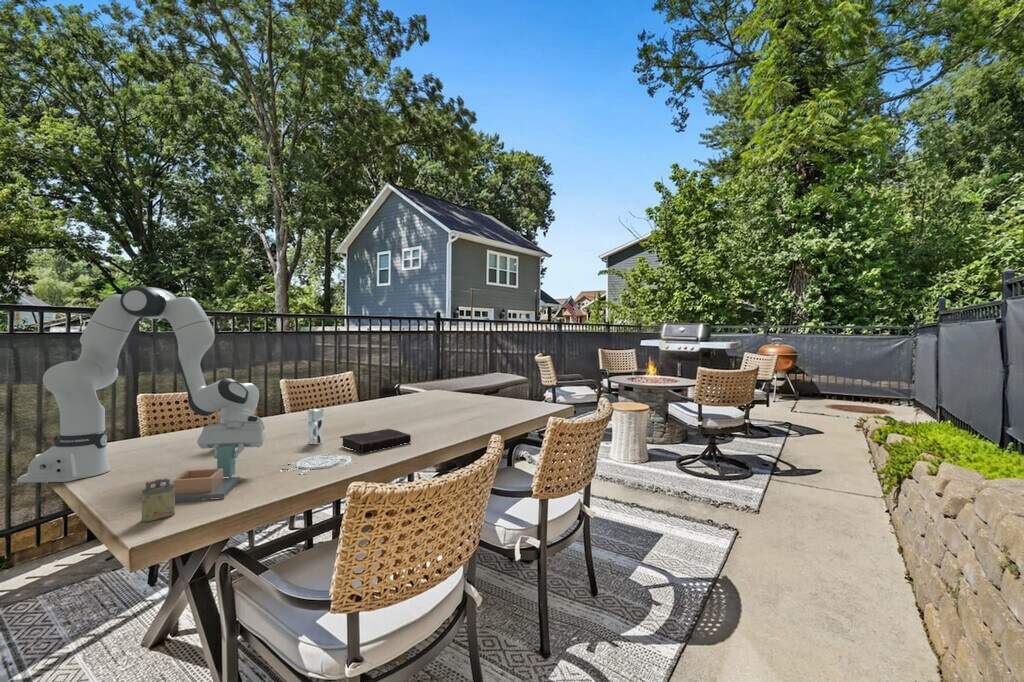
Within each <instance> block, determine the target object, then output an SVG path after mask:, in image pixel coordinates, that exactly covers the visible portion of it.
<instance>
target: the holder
mask: <svg viewBox="0 0 1024 682" xmlns="http://www.w3.org/2000/svg"><path fill="white" fill-rule="evenodd" d="M239 481H241V477H240V476H232V477H229V478H223V468H220V469H217V468H207V469H190V470H188V469H187V470H186V471H184V472H183V473H182V474H180V475H179V476H178V477H176V478H175V479H174V480H173V481H172V482H173V483H172V484H174V485H175V503H183V501H187V502H193V501H192V500H199V501H203V500H202V499H211V498H222V497H223V498H224V497H225V496H226V495H227V494H228V493H229V492H230V491H231V492H232V491H233V489H234V488H235V487H236V486H237V485H238V484H239V483H240V482H239ZM238 482H239V483H238ZM237 483H238V484H237ZM236 484H237V485H236ZM235 485H236V486H235ZM234 486H235V487H234ZM233 487H234V488H233ZM232 488H233V489H232ZM231 492H230V493H231ZM230 493H229V494H230ZM227 496H228V495H227ZM227 496H226V497H227ZM226 497H225V498H226ZM225 498H224V499H225Z"/></svg>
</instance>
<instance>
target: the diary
mask: <svg viewBox="0 0 1024 682" xmlns="http://www.w3.org/2000/svg"><path fill="white" fill-rule="evenodd" d="M339 438H341V439H342V446H344V447H347V448H350V449H353V450H352V451H354V450H356V451H355V452H357V451H359V452H358V453H361V452H362V453H364V454H367V453H366V452H369V453H371V452H370V451H373V452H375V451H374V450H377V451H380V450H379V449H382V450H384V449H383V448H387V449H389V448H388V447H391V448H393V447H392V446H395V447H397V446H396V445H400V444H404V443H409V442H410V443H411V440H412V439H411V438H412V437H411V434H409V433H405V432H403V431H400V430H396V429H392V428H386V429H385V428H384V429H380V430H374V431H369V432H363V433H362V432H361V433H353V434H345V435H342V436H341V435H340V436H339ZM410 443H409V444H410ZM400 446H401V445H400ZM360 451H361V452H360ZM362 453H361V454H362Z"/></svg>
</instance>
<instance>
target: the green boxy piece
mask: <svg viewBox="0 0 1024 682" xmlns="http://www.w3.org/2000/svg"><path fill="white" fill-rule="evenodd" d="M170 481H171V480H170V478H163V479H161V478H156V479H154V480H152V481H146V482H145V488H144V489H142V491H141V520H140V521H141V522H143V523H145V522H147V523H148V522H152V521H155V520H156V521H157V520H162V519H164V518H167V517H169V518H170V517H171V516H173V515H175V514H176V509H175V508H176V502H175V485H174V484H173V483H170ZM162 483H165V484H162ZM152 485H155V486H152Z"/></svg>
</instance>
